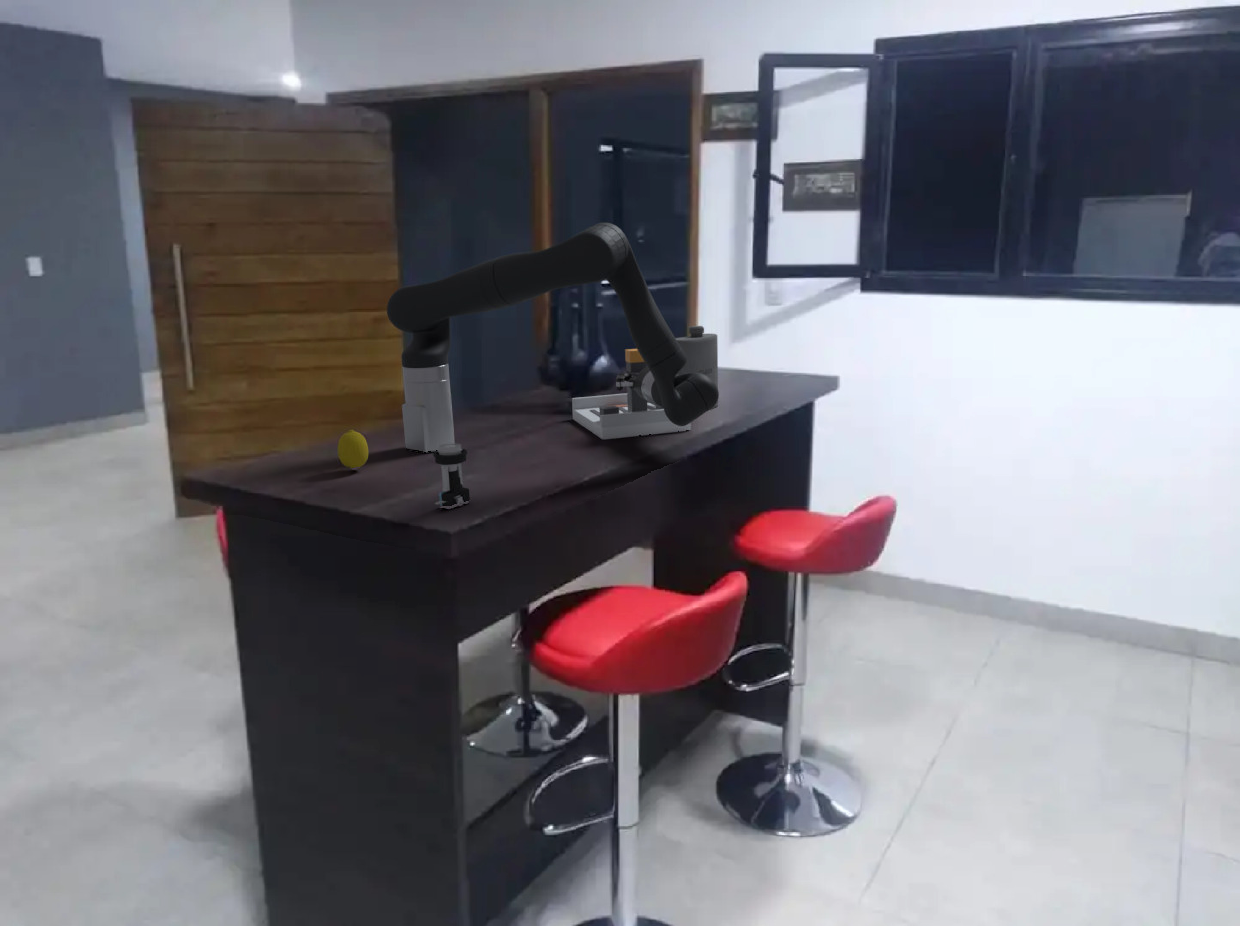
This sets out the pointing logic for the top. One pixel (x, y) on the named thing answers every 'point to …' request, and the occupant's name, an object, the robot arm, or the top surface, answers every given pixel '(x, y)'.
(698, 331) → the flask
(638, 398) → the handle
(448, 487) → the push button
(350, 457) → the lemon
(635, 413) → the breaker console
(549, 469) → the top surface
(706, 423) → the top surface
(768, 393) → the top surface
